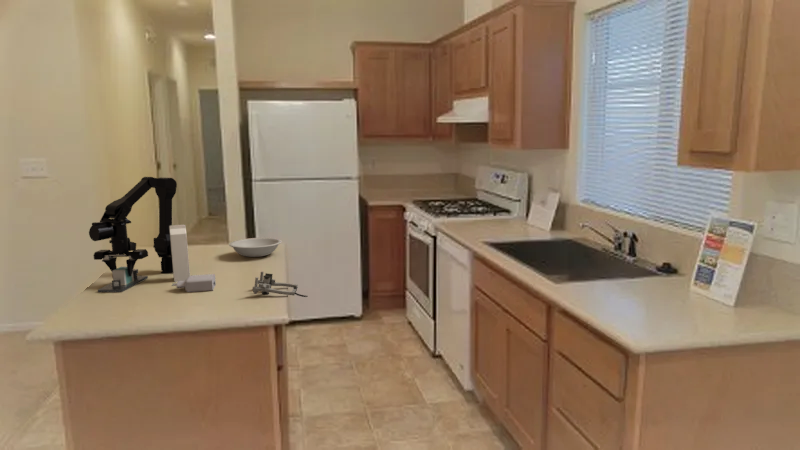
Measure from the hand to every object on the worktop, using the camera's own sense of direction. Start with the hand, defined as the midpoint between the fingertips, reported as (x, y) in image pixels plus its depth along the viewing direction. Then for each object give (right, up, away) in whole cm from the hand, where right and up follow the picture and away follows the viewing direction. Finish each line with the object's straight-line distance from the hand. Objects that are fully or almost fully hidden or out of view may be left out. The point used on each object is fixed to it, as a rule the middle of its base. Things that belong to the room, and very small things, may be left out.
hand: (123, 276), depth 222 cm
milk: (+20, -2, +8) cm, 21 cm away
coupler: (0, -2, 0) cm, 2 cm away
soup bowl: (+39, +5, +49) cm, 63 cm away
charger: (+30, -5, -7) cm, 31 cm away
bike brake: (+64, -5, -14) cm, 66 cm away
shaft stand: (0, -3, +1) cm, 4 cm away
